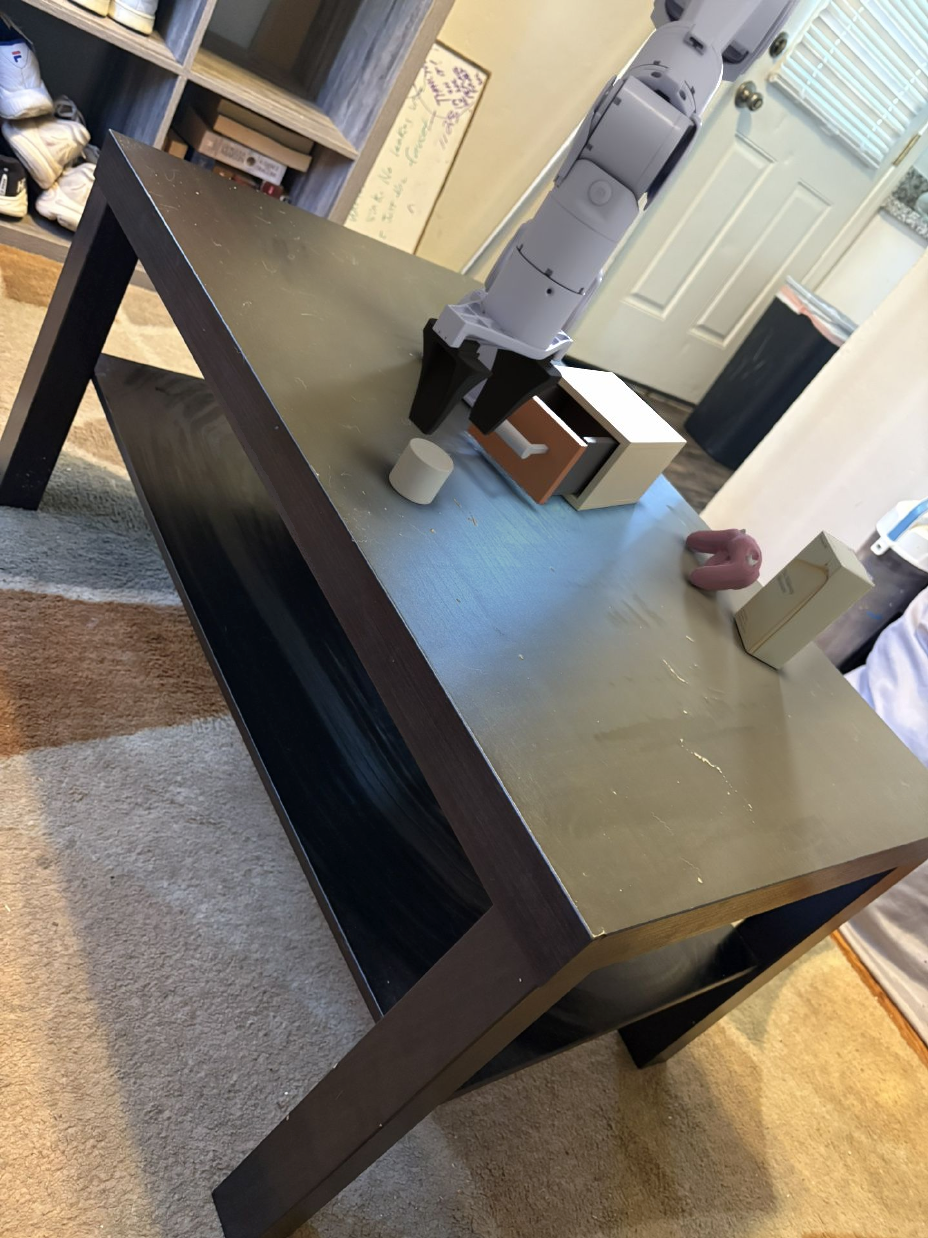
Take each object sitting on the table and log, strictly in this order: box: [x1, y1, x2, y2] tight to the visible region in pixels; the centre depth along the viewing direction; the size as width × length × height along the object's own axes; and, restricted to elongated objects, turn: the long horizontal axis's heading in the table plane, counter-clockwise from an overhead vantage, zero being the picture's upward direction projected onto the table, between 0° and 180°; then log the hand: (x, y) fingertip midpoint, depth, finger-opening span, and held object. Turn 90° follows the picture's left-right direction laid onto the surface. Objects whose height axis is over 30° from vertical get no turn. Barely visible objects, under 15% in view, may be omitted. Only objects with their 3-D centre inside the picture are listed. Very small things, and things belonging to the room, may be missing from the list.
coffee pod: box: [388, 437, 455, 505], centre depth 69 cm, size 4×4×4 cm
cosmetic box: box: [733, 530, 876, 670], centre depth 83 cm, size 6×4×12 cm
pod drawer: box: [466, 383, 621, 505], centre depth 82 cm, size 17×10×7 cm, turn 137°
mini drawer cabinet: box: [553, 364, 688, 512], centre depth 91 cm, size 14×12×9 cm
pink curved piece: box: [685, 528, 763, 591], centre depth 91 cm, size 10×5×7 cm, turn 168°
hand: (449, 426), depth 67 cm, fingers open, 7 cm apart
